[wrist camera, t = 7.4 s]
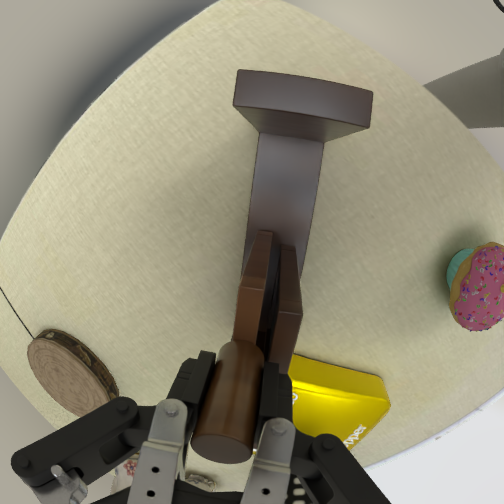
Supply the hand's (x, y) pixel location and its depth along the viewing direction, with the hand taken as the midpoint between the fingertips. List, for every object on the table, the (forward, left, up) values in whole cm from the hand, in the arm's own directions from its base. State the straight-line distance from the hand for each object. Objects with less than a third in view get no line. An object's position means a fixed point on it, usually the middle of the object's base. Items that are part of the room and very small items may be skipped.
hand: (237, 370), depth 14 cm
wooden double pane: (-3, +1, -13) cm, 13 cm away
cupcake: (-3, +21, -13) cm, 25 cm away
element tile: (+17, +8, -13) cm, 23 cm away
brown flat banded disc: (+22, -25, -13) cm, 36 cm away
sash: (0, 0, -11) cm, 11 cm away
